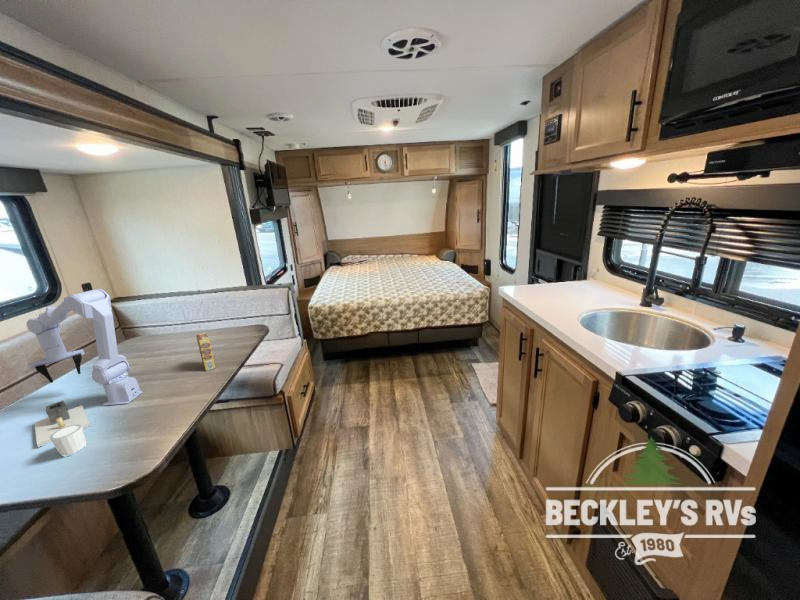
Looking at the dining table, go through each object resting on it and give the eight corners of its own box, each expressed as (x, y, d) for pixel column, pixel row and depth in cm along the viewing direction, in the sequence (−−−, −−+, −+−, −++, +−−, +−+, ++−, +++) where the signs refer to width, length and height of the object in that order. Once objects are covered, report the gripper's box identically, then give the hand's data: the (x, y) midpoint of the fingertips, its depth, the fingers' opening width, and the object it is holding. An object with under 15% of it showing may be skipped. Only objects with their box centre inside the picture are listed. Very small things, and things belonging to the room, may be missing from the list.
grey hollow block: (50, 418, 110) (45, 406, 108) (68, 412, 113) (63, 400, 111) (52, 425, 106) (46, 412, 104) (70, 418, 109) (64, 406, 108)
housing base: (36, 426, 108) (30, 414, 107) (83, 408, 117) (78, 397, 116) (38, 448, 97) (32, 434, 96) (90, 426, 106) (85, 414, 105)
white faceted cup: (95, 441, 99) (88, 422, 97) (74, 457, 92) (65, 438, 90) (74, 443, 98) (65, 424, 97) (51, 459, 92) (42, 440, 90)
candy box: (216, 367, 142) (208, 337, 138) (206, 371, 140) (197, 340, 136) (213, 361, 149) (205, 332, 145) (203, 364, 147) (195, 335, 142)
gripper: (77, 337, 126) (89, 367, 130) (23, 350, 116) (38, 382, 120) (79, 341, 122) (91, 371, 126) (24, 355, 111) (39, 388, 115)
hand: (65, 377), depth 122 cm, fingers open, 7 cm apart
